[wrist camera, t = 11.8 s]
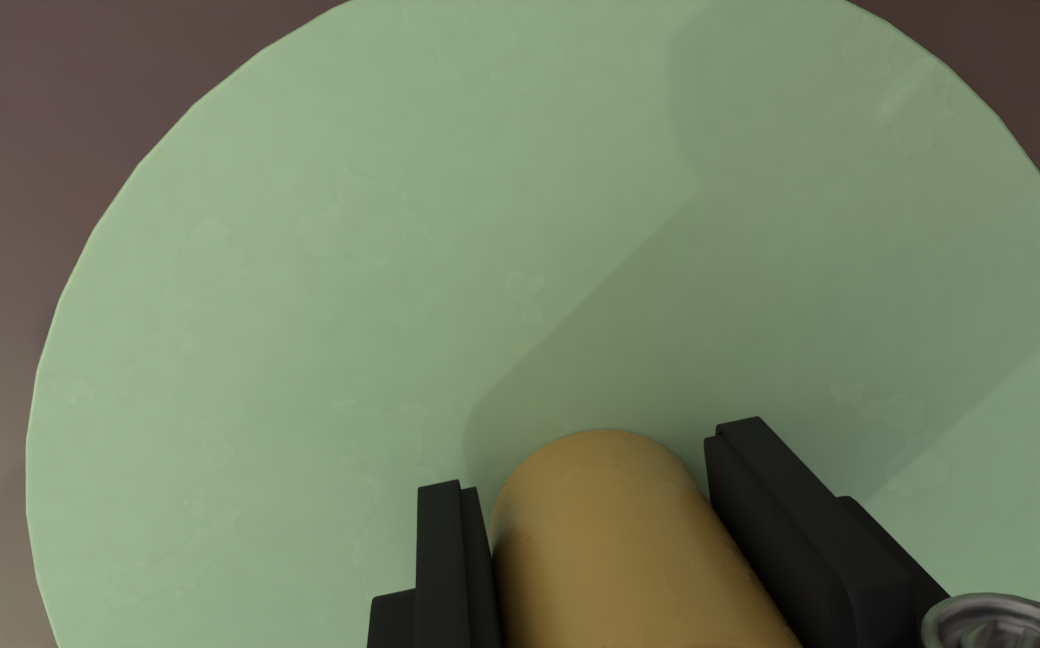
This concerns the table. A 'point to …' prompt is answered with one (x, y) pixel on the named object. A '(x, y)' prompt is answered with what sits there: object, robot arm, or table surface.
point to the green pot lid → (539, 324)
